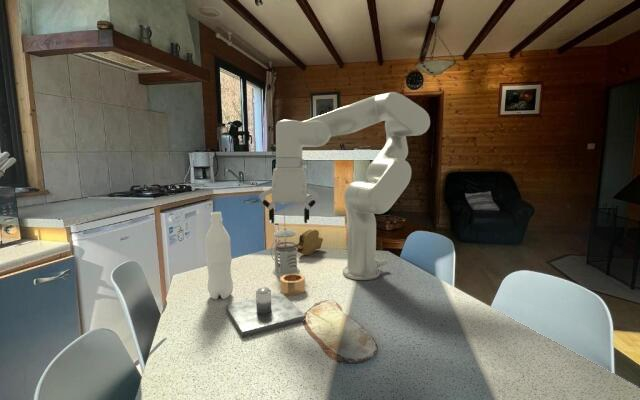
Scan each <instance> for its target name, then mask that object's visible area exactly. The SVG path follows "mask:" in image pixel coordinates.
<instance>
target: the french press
mask: <svg viewBox="0 0 640 400" xmlns="http://www.w3.org/2000/svg"><path fill="white" fill-rule="evenodd" d="M280 204H281V205H282V206H283V215H284V216H283V217H284V219H283V220H284V223H283V224H284V226H286V213H285V212H286V211H285V206H286V205H288V203H280ZM297 233H298V232H297V231H296V230H294V229H290V228H287V227H283V228H281V229H278V230H276V231H274V233H273V236H274V237H276V238H281V239H283V238H284V241H283V242H282V241H281V240H278V241H277V239H274V241H273V242H272V244H271V248H270V255H271V258H272V260H273V261H274V269H273V270H272V275H274V276H276V277H282V276H284V275H287V274H301V269H299V267H298V257H297V255H298V252H297V249H298V248H297V247H295V245H296V244H297V243H295V242H293V241H292V242H291V241H289V242H288V241H286V240H287V238H291V237H295V236H296V235H297ZM274 243H276V244H275V246H274V247H275V248H274V251H273V252H274V257H273V252H272V250H273V245H274Z"/></svg>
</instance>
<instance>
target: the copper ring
mask: <svg viewBox="0 0 640 400" xmlns="http://www.w3.org/2000/svg"><path fill="white" fill-rule="evenodd" d="M279 281H280V282H279V283H280V293H282V294H283V295H284V296H297V295H302V294H303V293H305V292H306V291H305V290H306V278H305V275H303V274H301V273H298V274H287V275H284V276H280V280H279Z"/></svg>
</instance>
